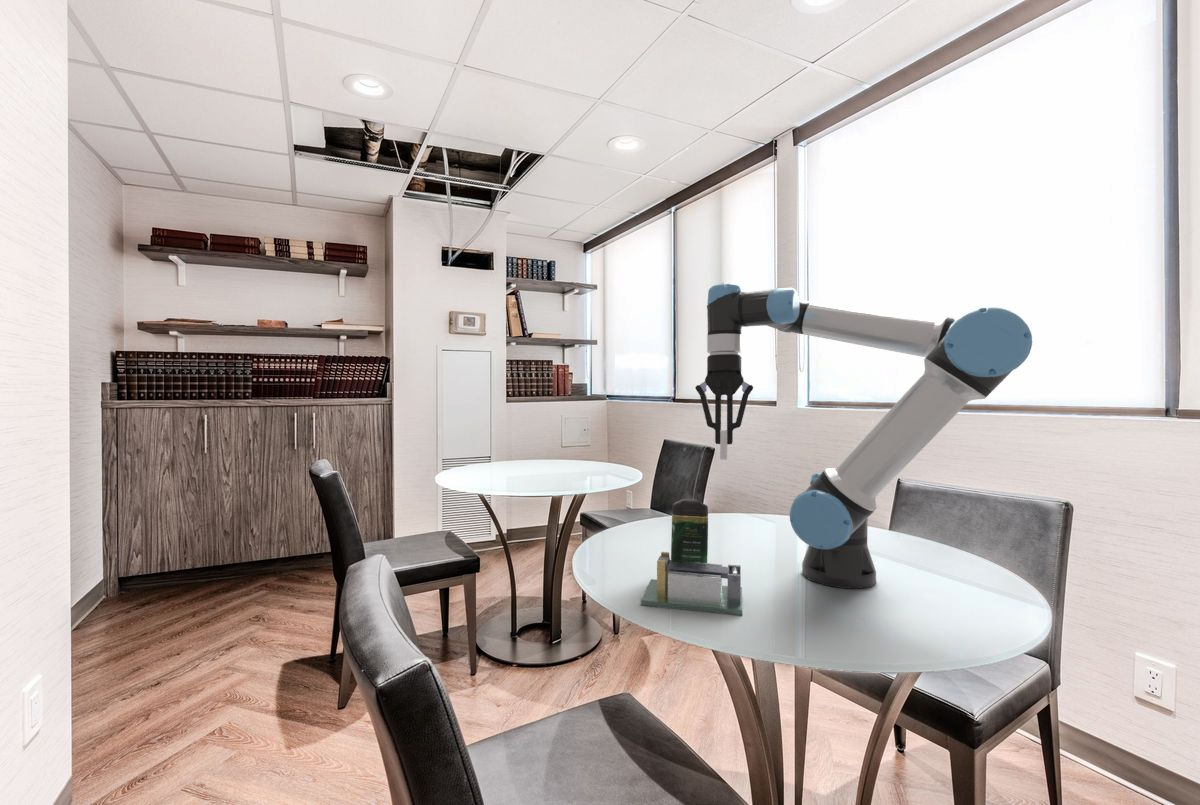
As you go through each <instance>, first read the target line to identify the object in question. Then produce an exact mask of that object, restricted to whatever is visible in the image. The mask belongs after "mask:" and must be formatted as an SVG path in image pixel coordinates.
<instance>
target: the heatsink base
mask: <svg viewBox="0 0 1200 805" xmlns="http://www.w3.org/2000/svg"><path fill="white" fill-rule="evenodd" d="M660 556H666V557H670V552H669V551H661V552H660ZM683 562H688V561H683ZM691 563H699V564H707V565H715V566H723V564H722V563H712V562H711V563H710V562H707V563H701V562H691ZM727 567H729V574H728V579H727V585H723V578H721V575H710V574H698V573H686V572H674V571H666V560H658V559H657V560H656V579H654V578H653V579H652V578H651V579H650V580H649V583H648V585H647V587H646V589H645V591H644V593H643V595H642V597H641V600H640V606H644V605H648V606H647V607H654V606H655V608H666V609H674V610H675V609H676V610H684V611H685V610H686V611H694V612H696V611H697V612H703V613H713V614H721V615H722V614H723V615H734V616H743V587H742V585H741V584H742V583H741V582H742V581H741V579H742V578H741V576H742V575H741V565H740V564H739V565H736V564H728V565H727Z"/></svg>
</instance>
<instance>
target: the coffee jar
mask: <svg viewBox="0 0 1200 805" xmlns="http://www.w3.org/2000/svg"><path fill="white" fill-rule="evenodd" d="M671 507H672V509H671V510H672V511H671V535H670V536H671V539H670V540H671V544H670V560H675V561H688V562H701V563H708V554H709V552H708V551H709V550H708V549H709V547H708V546H709V507H708V505H707V504H705V503H703V502H701V501H700V500H698V499H695V498H690V497H687V498H681V499H680V500H678V501H676V502H673V504H672V505H671Z"/></svg>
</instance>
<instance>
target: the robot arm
mask: <svg viewBox="0 0 1200 805" xmlns="http://www.w3.org/2000/svg"><path fill="white" fill-rule="evenodd" d="M707 292H708V294H707V305H706V310H707V312H706V315H707V335H706V337H707V339H706V342H707V344H706V346H707V347H706V348H707V350H706V352H707V353H708V354H709V355H708V356H707V358H706V361H707V362H706V364H707V367H706V369H707V370H706V377H705V378H704V381H703V382H701V383H700V384H698V385H696V386H695V390H696V391H697V393H698V395H699V398H700V401H701V405H702V410H703V413H704V414H703V415H704V418H705V422H706V426H707V427H708V428H711V429H713V430H714V432H715V433H714V443H715V444H716V445H719V446H720V448H719V449H720V450H719V452H720V453H719V454H720V457H719V460H728V445H732V444H733V440H734V438H733V434H734V433H733V431H734V429H738V428H741V426H742V422H743V419H744V418H743V417H744V414H745V410H746V407H747V402H748V397H749V395H750V394H751V393H752V391H753V390H754V386H753V385H752V384H749V383H747V382H746V381H745V380H744V376H743V375H742V356H741V355H740V354H741V353H742V339H743V338H742V337H743V335H742V329H743V328H742V327H746V328H748V327H758V326H759V327H761V326H767V327H770V328H773V329H777V330H778V331H779V332H780V331H781V332H783V333H793V334H798V335H799V334H800V335H806V336H811V337H815V338H816V337H817V338H821V339H827V340H832V341H836V342H837V341H838V342H840V343H841V342H842V343H848V344H853V345H859V346H862V347H868V348H872V349H878V350H879V349H880V350H885V351H889V352H894V353H895V352H896V353H899V354H900V353H901V354H905V355H910V356H917V357H921V358H924V359H923V360H924V361H923V364H924V372H923V373H922V374H921V375H920V377H918V378H917V380H916V381H915V382H914V383H913V384H912V385H911V387H909V388H908V389H907V391H906V392H905V393H904V394H903V395H902V397H900V398H899V400H898V401H897V402H896V403H895V404H894V405H893V406H892V407H891V408H890V410H888V412H886V414H885V415H884V416H883V417H882V418H881V419H880V420H879V422H877V424H876V425H875V426H874V427H873V428H872V429H871V430H870V431H869V432H868V433H867V435H866V436H865V437H864V438H863V439H862V440H861V442H860V443H859V444H857V446H856V447H855V448H854V449H853V450H852V451H851V452H850V454H849V455H848V456H846V458H845V459H844V460H843V461H841V463H840V464H839V465H838V467H829V468H828V467H827V468H825V469H824V470H823V471H822V472H820V473H818V472H815V473H813V474H812V475H811V478H810V482H809V485H810V486H808V488H806V490H805V491H803V492H801V493H799V494H798V495H797V496H796V497H795V498H794V500H793V502H792V504H791V506H790V509H789V522H790V526H791V528H792V530H793V532H794V533H795V535H796V536H797V537H798V538H799V539H800V540H801V541H802V542H804V543H805V544H806V545H808V546H807V549H806V551H805V555H804V557H803V560H802V564H801V565H802V566H801V568H802V569H801V570H802V571H801V573H802V575H803V576H804V577H805V578H807V579H808V580H810V581H813V582H816V583H818V584H821V585H825V586H830V587H836V588H841V589H842V588H844V589H862V588H863V589H864V588H869V587H872V586H875V584H877V571H876V568H875V564H874V560H873V558H872V555H871V553H870V549H869V547H868V534H869V533H868V528H869V527H868V526H869V524H868V520H869V519H868V518H869V517H870V516H871V515H872V514H873V513H874V512H875V511H876V510H877V503H876V502H877V501H876V497H877V496H879V494H881V492H882V491H883V490H884V489H885V488H886V487H887V486H888V485H889V484H890V483H891V482H892V481H893V480H894V479H895V478H897V476H898V475H899V473H901V472H902V471H903V470H904V469H905V467H906V466H908V464H909V463H910V462H911V461H912V460H914V458H915V457H916V456H917V455H918V454H919V453H920V452H921V451H922V450H924V448H925V447H927V445H928V444H929V443H930V442H931V441H932V440H933V439H934V438H935V437H936V436H937V435H938V434H939V432H940V431H942V430H943V428H945V426H946V425H948V423H949V422H950V421H952V419H953V418H954V417H955V416H956V415H957V414H958V413H959V412H960V411H961V410H962V409H963V408H964V407H965V406H966V405H967V404H968V403H969V402H971V401H974V400H976V401H978V400H985V399H986V398H987V397H989V395H990V394H991V393H993V391H994V390H995V389H996V388H997V387H998V386H999V385H1000V384H1001V383H1002V382H1003V381H1004V380H1005V379H1006V378H1007V377H1008V376H1009V375H1010V374H1011V373H1012V372H1013V371H1015V370H1016V369H1018V368H1019V367H1020V366H1021V365H1023V364H1024V362H1025V361H1026V360H1027V358H1029V355H1030V354H1031V350H1032V346H1033V336H1032V332H1031V330H1030V327H1029V326H1028V324H1027V323H1026V322H1025V321H1024V319H1023V318H1021V316H1019V315H1018V314H1016V313H1015V312H1013V311H1011V310H1009V309H1005V308H1001V307H995V306H994V307H993V306H986V307H980V308H975V309H972V310H969V311H968V312H965V313H964V314H962V315H960V316H958V317H957V318H955V317H947V316H944V317H942V318H941V319H939V320H934V319H933V320H932V319H926V318H920V317H914V316H913V317H912V316H906V315H900V314H893V313H887V312H886V313H885V312H880V311H873V310H866V309H861V308H860V309H859V308H852V307H848V306H847V307H846V306H842V305H841V306H839V305H834V304H827V303H821V302H815V301H809V300H802V299H801V300H800V297H799V294H798V291H797V290H796V289H795V288H794V287H783V288H782V287H775V288H771V289H764V290H763V289H761V290H757V291H756V290H755V291H746V292H745V291H743V288H742V286H741V285H740V284H736V283H719V284H715V285H712V286H711V287H710V288H709V289H708V291H707ZM707 387H708V388H709V390H710V391H711V393H713V395H714V396H715V398H714V400H715V401H714V402H715V404H714V405H715V412H714V413H715V414H714V422H713V419H712V414H711V409H710V405H709V401H708V398H707V394H706V392H707ZM740 388H741V391H742V392H743V393H742V396H741V400H740V404H739V407H738V408H739V409H738V412H737V416H736V419H735V422H734V421H733V415H734V413H733V412H734V411H733V410H734V409H733V408H734V405H733V404H734V400H733V396H734V395H735V394H736V393H737V391H738V390H739V389H740ZM722 396H726V429H722Z"/></svg>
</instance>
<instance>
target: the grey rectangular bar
mask: <svg viewBox="0 0 1200 805" xmlns="http://www.w3.org/2000/svg"><path fill="white" fill-rule="evenodd" d="M657 560H666V571H674V572H686V573H698V574H710V575H721V578H722V579H727V580H728V574H729V567H728V566H723V565H722V566H715V565H707V564H699V563H691V562H683V561H675V560H671V556H669V557H666V556H661V555H660V556H659V558H658V559H657Z"/></svg>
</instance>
